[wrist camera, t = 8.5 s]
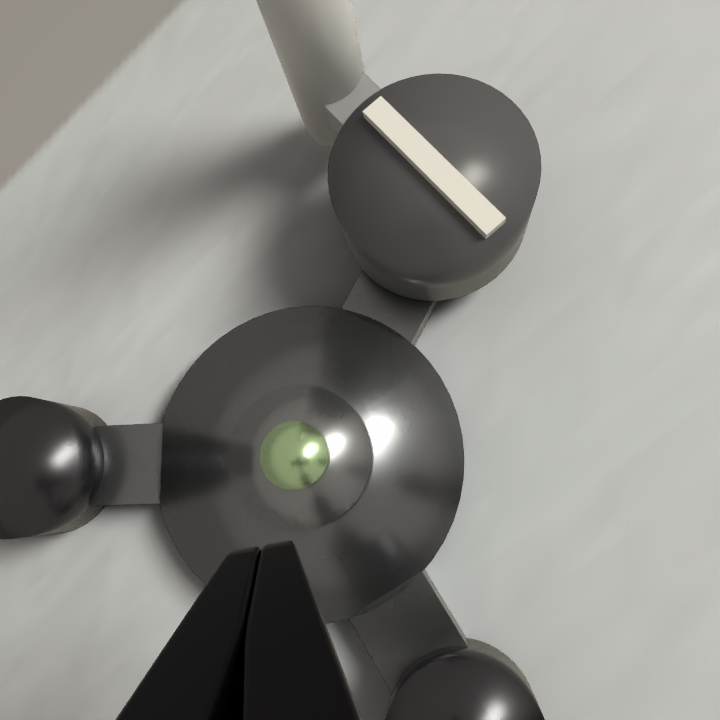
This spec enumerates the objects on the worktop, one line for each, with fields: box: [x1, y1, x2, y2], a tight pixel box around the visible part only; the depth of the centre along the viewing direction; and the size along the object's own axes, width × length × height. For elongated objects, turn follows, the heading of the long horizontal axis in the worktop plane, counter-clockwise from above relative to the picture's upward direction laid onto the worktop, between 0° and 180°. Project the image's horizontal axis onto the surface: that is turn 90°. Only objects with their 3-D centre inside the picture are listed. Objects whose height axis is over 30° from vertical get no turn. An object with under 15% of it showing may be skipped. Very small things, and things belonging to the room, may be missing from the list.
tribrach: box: [0, 270, 545, 720], centre depth 20 cm, size 18×20×3 cm
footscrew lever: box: [256, 0, 541, 301], centre depth 16 cm, size 9×6×11 cm, turn 40°
